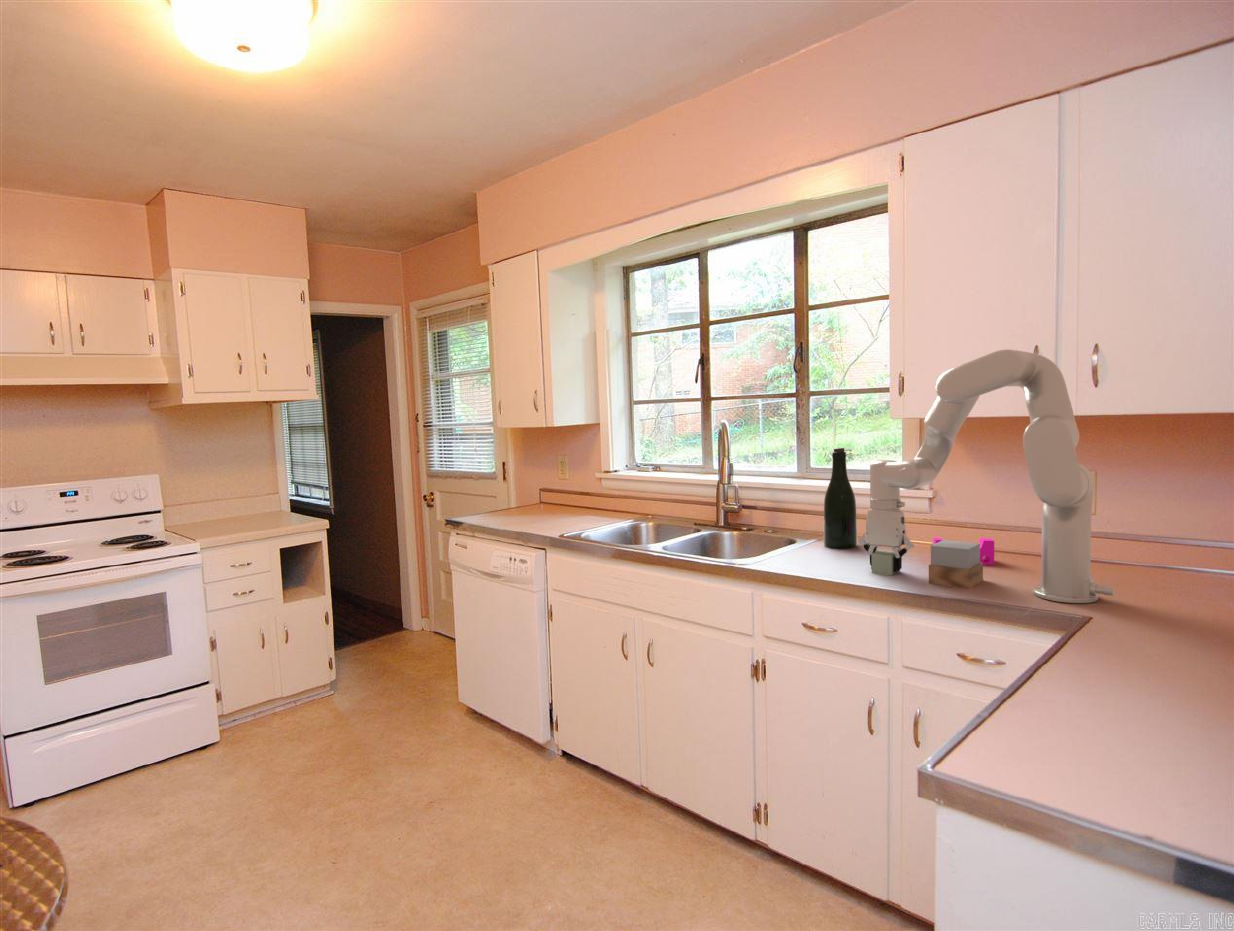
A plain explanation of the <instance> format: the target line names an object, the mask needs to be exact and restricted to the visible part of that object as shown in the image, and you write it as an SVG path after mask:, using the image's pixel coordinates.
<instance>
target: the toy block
mask: <svg viewBox="0 0 1234 931" xmlns="http://www.w3.org/2000/svg"><path fill="white" fill-rule="evenodd" d="M942 540H944V539H943V538H942V537H933V542H932V543H933V544H935V543H938V542H940V541H942ZM978 543H979V544H980V562H981V563H983V566H988V565H989V566H994V565H995V540H994V539H993V538H990V537H987V538H986V537H981V538H980V539H979V542H978ZM933 544H932V545H933Z"/></svg>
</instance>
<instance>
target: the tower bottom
mask: <svg viewBox="0 0 1234 931" xmlns="http://www.w3.org/2000/svg"><path fill="white" fill-rule="evenodd" d="M982 580H983V581H984V565H983V563H981V562H980V563H979V564H977V565H975V566H974V567H972V568H970V569H961V568H953V567H945V566H937V565H931V563H930V564H928V583H929V584H932V583H936V584H935V585H939V584H942V585H941V586H946V585H950V586H949V587H953V586H956V587H957V588H961V589H969V590H972V589H973V588H974V587H975V585H976V586H977V585H979V583H981V582H983V581H982ZM956 587H955V588H956Z"/></svg>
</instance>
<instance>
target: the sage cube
mask: <svg viewBox="0 0 1234 931" xmlns="http://www.w3.org/2000/svg"><path fill="white" fill-rule="evenodd" d="M871 555H872V569H871V573H872V574H877V573H878V575H884V574H886V575H885V576H891V575H892V576H893V574H894V575H895V574H897V573H899V572H900V571H898V572H894V571H893V558H895V554H894V551H893V550H892V551H891V550H882V549H879V550H876V552H874V553H871Z"/></svg>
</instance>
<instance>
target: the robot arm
mask: <svg viewBox="0 0 1234 931" xmlns="http://www.w3.org/2000/svg"><path fill="white" fill-rule="evenodd" d="M1007 387H1019V388H1021V389H1022V390H1023V392H1024V395H1025V404H1026V409H1027V412H1028V416H1029V417H1028V418H1029V421H1030V423H1029V424H1028V425H1027V426H1026V428H1025V430H1024V432H1023V435H1022V447H1023V452H1024V457H1025V460H1026V466H1027V468H1028V473H1029V477H1030V483H1031V486H1032V489H1033V492H1034V494H1035V496H1036V497H1037V498H1038V499H1039V501H1040V502H1042V512H1041V558H1040V559H1041V565H1040V566H1041V572H1040V573H1041V574H1040V575H1041V576H1040V577H1041V579H1040V581H1041V582H1040V583H1041V584H1040V585H1037V586H1035V587H1034V588H1033V594H1034V595H1035V596H1036V597H1038V598H1041V599H1044V600H1047V601H1053V602H1059V603H1065V604H1066V603H1067V604H1068V603H1069V604H1089V603H1090V604H1091V603H1095V602H1097V601H1098V600H1099V595H1104V596H1110V597H1111V596H1112V597H1114V594H1115V588H1114V586H1110V585H1107V584H1098V583H1097V582H1095V578H1094V577H1091V561H1092V560H1091V557H1092V556H1091V554H1092V552H1091V551H1092V550H1091V549H1092V516H1093V515H1092V514H1093V502H1094V500H1093V499H1094V491H1095V487H1094V485H1095V484H1094V479H1093V476H1092V474H1091V472H1090V470H1089V469H1088V468H1087V467H1085V465H1083V464H1081V463H1079V460H1078V456H1077V452H1076V448H1077V446H1078V444H1079V443H1080V442H1079V441H1080V432H1079V428H1078V424H1077V422H1076V418H1075V413H1074V410H1073V405H1072V402H1071V399H1070V396H1069V392H1068V388H1067V384H1066V380H1065V378H1064V375H1063V374H1062V372H1061V369H1060V368H1059V367H1058V365H1057V364H1055V363H1054V362H1053V361H1052V360H1050V359H1049V358H1047V357H1046V356H1043V355H1040V354H1038V353H1033V352H1030V351H1029V352H1028V351H1022V350H1017V349H1000V350H995V351H994V352H990V353H988V354H985V355H983V356H980V357H977V358H975V359H973V360H970V361H968V362H965V363H963V364H960V365H957V366H954V367H951V368H950V369H949V368H948V369H947V370H946V371H944V372H943V373H941V375H939V377H938V378H937V380H936V384H935V391H936V394H937V397H936V399H935V401H934V402H933V404H932V406H931V407H930V409H929V411H928V413H927V415H925V416H926V417H925V419H924V420H923V421H924V422H923V424H924V426H923V427H924V430H925V431H924V432H925V437H924V440H923V443H922V445H921V446H920V448H919V450H918V452H917V454H916V456H914V459H909V460H905V461H897V460H891V459H879V460H874V461H872V462H871V463H870V465H869V492H870V496H869V498H870V499H869V500H870V501H869V502H870V508H868V511H867V515H866V520H865V526H864V528H865V530H864V531H865V532H864V533H863V534H862V535H861V536H860V537H859V538H858V539H857V543H858V544H860V545H861V546H862V547H863V548H864V549H865V551H866V552H867V554H868V555H869V566H870V569H871V570H872V555H871V553H874V552H876V551H878V547H884V548H885V547H887V548H891V549H892V552H894V554H895V558H893V571H894V572H897V573H899V572H900V571H901V569H902V557H904V556H905V554H906V553H908V552H909V551H910V550H911V549H913V548H914V547H915V545H914V543H913V542H912V540H910V538H909V537H908V534H907V524H906V519H905V513H904V510H903V509H901V508H905V505H906V503H905V502H904V501H901V498H900V497H901V496H900V491H901V490H900V489H905V490H915V489H918V488H920V487H925V486H927V485H929V484H931V483H932V482H933V481H934V480H935V479H936V477H938V475H939V473H940V472H941V470H942V468H943V467H944V465H945V464H946V462H947V460H948V458H949V456H950V454H951V453H952V452H951V451H952V449H953V447H954V444H955V442H956V438H957V435H958V433H959V431H960V430H961V428H962V427H963V425H964V423H965V422H966V420H967V418H968V416H969V415H970V413H971V411H972V410H973V409H974V406H975V405H976V403H977V401H978V400H979V398H980V396H982V395H985V394H988V393H990V392H993V391H996V390H999V389H1002V388H1007ZM902 546H905V547H903V548H902ZM898 571H899V572H898Z"/></svg>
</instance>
